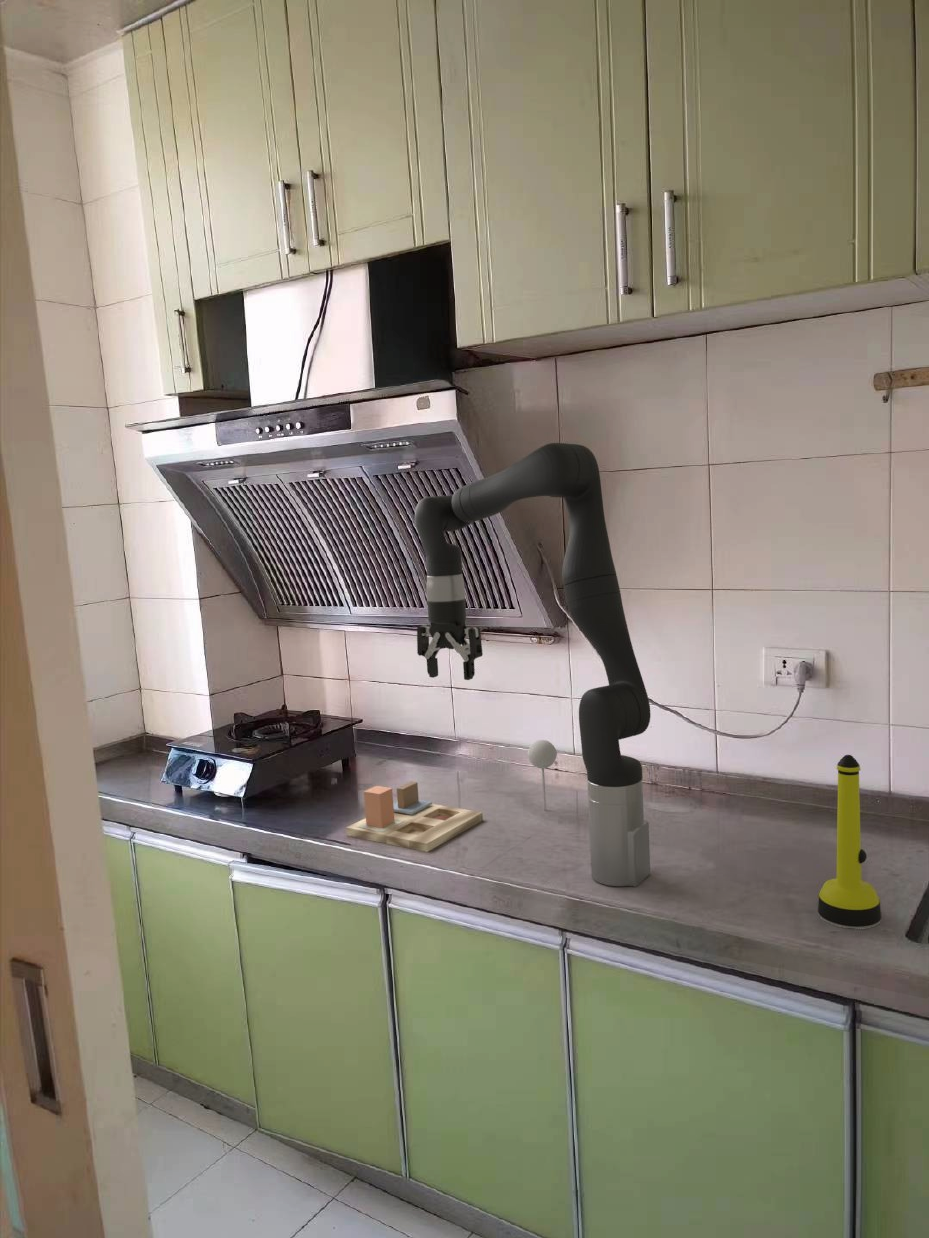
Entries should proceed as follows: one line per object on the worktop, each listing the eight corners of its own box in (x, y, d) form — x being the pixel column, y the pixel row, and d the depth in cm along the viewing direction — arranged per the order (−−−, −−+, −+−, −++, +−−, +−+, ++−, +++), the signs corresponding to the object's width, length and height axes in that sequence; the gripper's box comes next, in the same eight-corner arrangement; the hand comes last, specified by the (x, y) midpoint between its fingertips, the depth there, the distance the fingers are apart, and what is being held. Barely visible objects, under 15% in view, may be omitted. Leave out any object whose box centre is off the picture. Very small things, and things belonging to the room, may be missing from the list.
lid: (432, 804, 197) (430, 782, 197) (411, 814, 192) (410, 792, 191) (405, 799, 201) (404, 778, 201) (385, 809, 196) (383, 787, 195)
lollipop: (564, 807, 197) (561, 737, 195) (552, 816, 192) (548, 745, 190) (537, 803, 201) (534, 735, 199) (525, 812, 196) (521, 742, 194)
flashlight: (810, 760, 137) (876, 766, 132) (822, 744, 145) (885, 749, 140) (812, 922, 140) (876, 933, 136) (823, 898, 148) (885, 909, 143)
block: (394, 821, 188) (392, 788, 188) (381, 828, 185) (379, 793, 184) (379, 818, 191) (376, 785, 190) (366, 825, 187) (363, 791, 187)
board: (482, 821, 192) (482, 811, 191) (427, 853, 176) (426, 843, 176) (405, 807, 203) (404, 798, 203) (347, 836, 187) (346, 826, 187)
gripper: (486, 595, 185) (491, 676, 187) (428, 594, 193) (433, 672, 195) (465, 600, 179) (470, 684, 181) (406, 599, 187) (411, 679, 189)
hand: (451, 678), depth 188 cm, fingers open, 8 cm apart
